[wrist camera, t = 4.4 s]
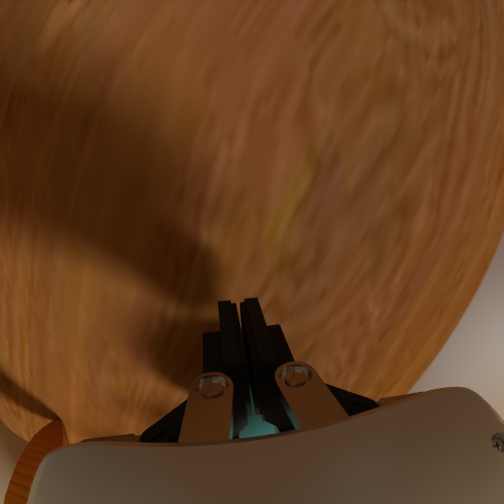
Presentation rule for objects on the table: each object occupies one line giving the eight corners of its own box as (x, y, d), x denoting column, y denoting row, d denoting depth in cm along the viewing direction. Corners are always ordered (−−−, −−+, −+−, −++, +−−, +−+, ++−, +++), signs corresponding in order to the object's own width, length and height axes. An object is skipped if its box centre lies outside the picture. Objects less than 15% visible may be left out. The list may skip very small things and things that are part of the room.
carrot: (54, 397, 15) (9, 564, 1) (98, 434, 17) (78, 588, 3) (26, 405, 15) (-18, 542, 1) (65, 439, 17) (40, 570, 3)
